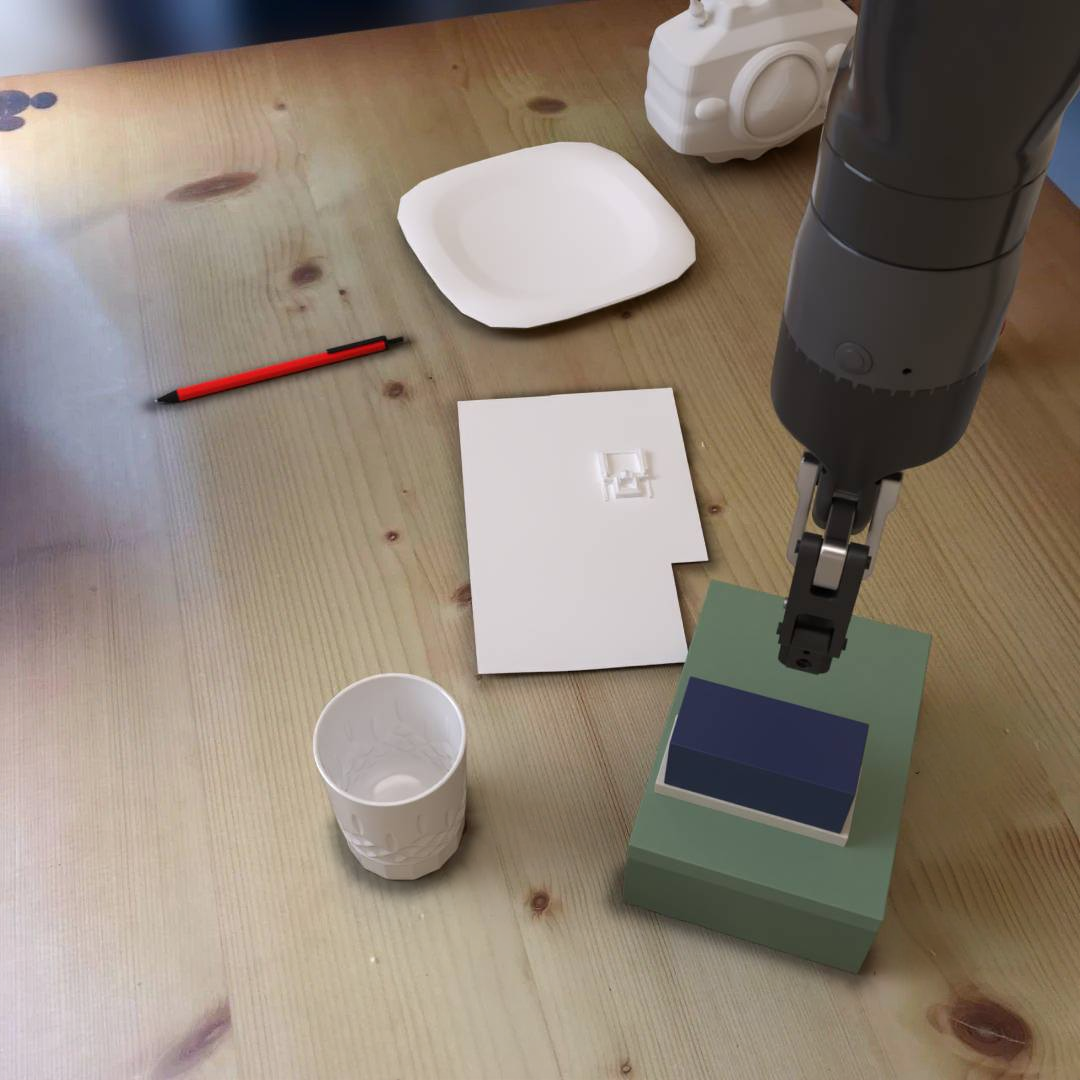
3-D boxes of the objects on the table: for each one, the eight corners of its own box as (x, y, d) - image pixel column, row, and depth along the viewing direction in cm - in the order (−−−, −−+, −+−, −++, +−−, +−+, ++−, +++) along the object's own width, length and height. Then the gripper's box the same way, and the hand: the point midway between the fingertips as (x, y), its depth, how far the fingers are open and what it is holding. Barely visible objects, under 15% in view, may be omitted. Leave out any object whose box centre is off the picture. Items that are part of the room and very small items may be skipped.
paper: (441, 404, 96) (440, 394, 95) (669, 381, 97) (670, 370, 97) (479, 689, 80) (479, 679, 79) (750, 656, 82) (752, 646, 81)
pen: (405, 346, 100) (403, 335, 99) (157, 409, 96) (153, 398, 95) (401, 339, 101) (400, 328, 100) (155, 401, 97) (151, 390, 96)
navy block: (858, 774, 69) (877, 724, 65) (844, 847, 66) (863, 799, 62) (675, 723, 71) (683, 671, 67) (654, 792, 68) (660, 742, 64)
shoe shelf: (906, 700, 80) (932, 634, 75) (857, 974, 69) (883, 921, 64) (699, 645, 83) (710, 578, 77) (621, 901, 72) (628, 844, 66)
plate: (724, 281, 105) (727, 264, 104) (479, 362, 99) (478, 345, 98) (599, 141, 117) (600, 124, 116) (374, 205, 111) (372, 189, 110)
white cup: (364, 914, 71) (343, 830, 64) (317, 796, 76) (292, 705, 68) (496, 857, 73) (491, 768, 66) (442, 746, 78) (431, 651, 70)
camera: (627, 141, 117) (638, -31, 105) (800, 96, 122) (829, -74, 110) (685, 210, 111) (702, 35, 99) (864, 159, 116) (903, -13, 103)
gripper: (979, 476, 41) (881, 741, 54) (1017, 210, 50) (924, 492, 62) (745, 426, 43) (702, 695, 55) (820, 176, 51) (769, 458, 64)
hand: (820, 587), depth 59 cm, fingers open, 8 cm apart
